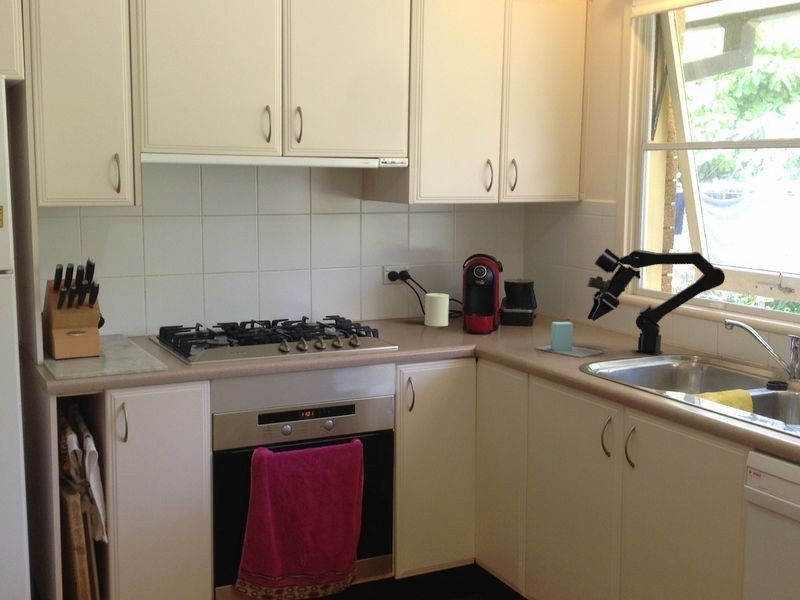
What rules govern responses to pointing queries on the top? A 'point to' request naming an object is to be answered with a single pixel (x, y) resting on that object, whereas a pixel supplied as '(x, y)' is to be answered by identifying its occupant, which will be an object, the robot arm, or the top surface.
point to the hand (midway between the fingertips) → (590, 319)
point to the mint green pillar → (561, 336)
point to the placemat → (575, 351)
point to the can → (436, 309)
